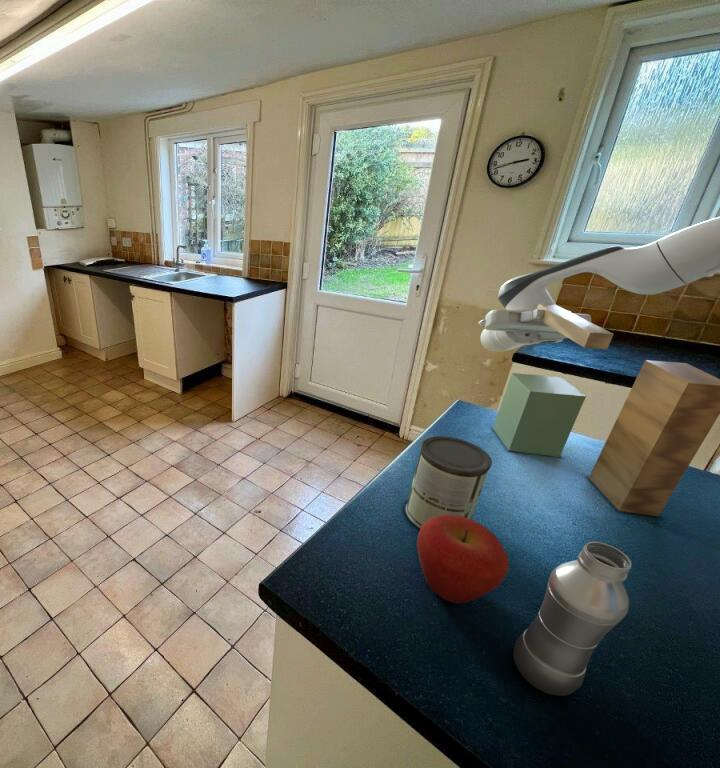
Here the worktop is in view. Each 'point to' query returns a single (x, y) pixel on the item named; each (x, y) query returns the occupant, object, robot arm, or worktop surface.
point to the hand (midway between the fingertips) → (554, 313)
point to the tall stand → (656, 435)
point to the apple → (460, 558)
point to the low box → (537, 414)
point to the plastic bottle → (573, 619)
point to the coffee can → (447, 479)
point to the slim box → (575, 327)
